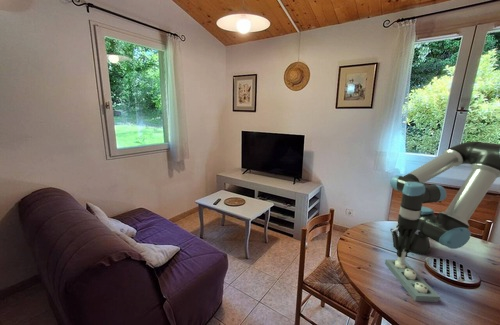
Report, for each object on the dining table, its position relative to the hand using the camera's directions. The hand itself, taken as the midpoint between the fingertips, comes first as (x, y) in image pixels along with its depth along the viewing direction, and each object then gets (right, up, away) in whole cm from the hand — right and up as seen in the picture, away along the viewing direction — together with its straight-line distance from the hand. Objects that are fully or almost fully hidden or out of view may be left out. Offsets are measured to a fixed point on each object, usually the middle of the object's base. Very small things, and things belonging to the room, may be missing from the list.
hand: (400, 262), depth 104 cm
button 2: (0, -4, -6) cm, 7 cm away
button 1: (0, -3, +1) cm, 4 cm away
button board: (0, -5, -6) cm, 8 cm away
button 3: (-1, -7, -13) cm, 14 cm away
